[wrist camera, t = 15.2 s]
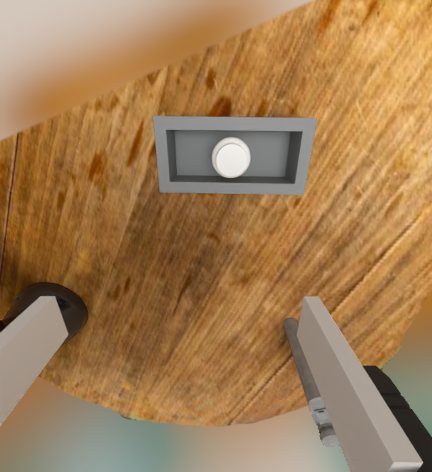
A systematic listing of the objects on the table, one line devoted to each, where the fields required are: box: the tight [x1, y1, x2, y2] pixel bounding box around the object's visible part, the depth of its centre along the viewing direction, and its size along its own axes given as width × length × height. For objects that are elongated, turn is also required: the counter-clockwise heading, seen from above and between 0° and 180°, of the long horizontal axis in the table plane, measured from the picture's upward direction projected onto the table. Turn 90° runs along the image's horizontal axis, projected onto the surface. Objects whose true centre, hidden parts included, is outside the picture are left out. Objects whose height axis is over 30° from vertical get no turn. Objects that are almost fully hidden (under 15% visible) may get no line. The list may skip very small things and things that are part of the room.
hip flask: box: [283, 318, 340, 447], centre depth 47 cm, size 16×4×20 cm, turn 29°
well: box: [153, 116, 317, 195], centre depth 35 cm, size 22×10×7 cm, turn 89°
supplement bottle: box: [212, 137, 251, 178], centre depth 33 cm, size 5×5×10 cm
